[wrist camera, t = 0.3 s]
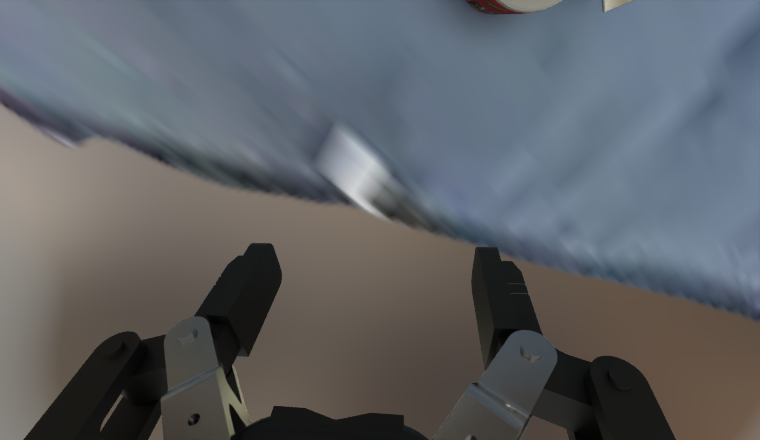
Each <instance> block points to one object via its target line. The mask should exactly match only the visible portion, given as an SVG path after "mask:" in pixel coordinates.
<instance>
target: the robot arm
mask: <svg viewBox="0 0 760 440" xmlns="http://www.w3.org/2000/svg"><path fill="white" fill-rule="evenodd" d="M281 280H282V272H281V268H280V265H279V262H278V259H277V256H276V253H275V250H274V247H273V245H272V244H270V243H252V244H250V246H249V247H248V249H247V250H246V252H245V253H244V255H243V256H238V257H236V258H235V259H234V260H233V261H232V262H230V263H229V264H228V265H227V267H226V268H225V270H224V271H223V273H222V274H221V277H219V279H218V281H217V282H216V285H214V287H213V288H212V290H211V291H210V293H209V294H208V296H207V297H206V299H205V300H204V302H203V304H202V305H201V306H200V308H199V310H198V311H197V312H196V314H195V315H194V317H190V318H187V319H184V320H182V321H180V322H179V323H177V324H176V325H175V326H173V328H171V329H170V330H169V332H168V333H167V334H166V335H162V336H157V337H154V338H149V339H145V340H141V338H140V337H139V336H138V335H137V334H136V333H135V332H129V331H128V332H122V333H119V334H116V335H114V336H112V337H110V338H108V339H107V340H105V341H104V342H102V344H100V345H99V346H98V347H97V348H96V349H95V350H94V352H93V353H92V354H91V355H90V357H89V358H88V359H87V360H86V362H85V363H84V364H83V365H82V367H81V368H80V369H79V371H78V372H77V373H76V374H75V376H74V377H73V378H72V379H71V381H70V382H69V383H68V384H67V386H66V387H65V388H64V389H63V391H62V392H61V393H60V394H59V396H58V397H57V398H56V400H55V401H54V402H53V403H52V405H51V406H50V407H49V408H48V410H47V411H46V412H45V413H44V415H43V416H42V417H41V418H40V420H39V421H38V422H37V423H36V425H35V426H34V427H33V429H32V430H31V431H30V432H29V433H28V435H27V436H26V437H25V438H24V440H148V439H149V437H150V435H151V433H152V431H153V429H154V427H155V426H156V424H157V422H158V420H159V418H160V416H161V414H162V428H163V440H429V439H427V438H426V437H425V436H424V435H422V434H421V433H420V432H418V431H416V430H414V429H412V428H410V427H408V426H405V425H404V416H403V415H393V414H378V413H368V414H363V415H358V416H354V417H348V418H343V419H338V420H335V419H331V418H329V417H326V416H324V415H321V414H318V413H316V412H313V411H311V410H308V409H306V408H297V407H283V406H274V407H273V410H272V413H271V416H269V417H266V418H263V419H260V420H258V421H256V422H254V423H252V421H251V419H250V417H249V415H248V412H247V410H246V406H245V403H244V399H243V395H242V391H241V388H240V384H239V381H238V377H237V374H236V370H235V367H234V365H233V363H234V361H235V359H236V357H237V356H247V357H248V356H249V354H250V352H251V350H252V348H253V345H254V343H255V341H256V339H257V336H258V334H259V332H260V330H261V327H262V325H263V323H264V321H265V319H266V316H267V314H268V312H269V309H270V307H271V305H272V303H273V301H274V298H275V296H276V294H277V292H278V289H279V287H280V284H281ZM471 283H472V284H471V285H472V295H473V301H474V306H475V313H476V319H477V325H478V332H479V338H480V344H481V351H482V357H483V363H484V369H485V372H484V374H483V375H482V377H481V378H480V379H479V381H478V382H477V383H472V384H471V385H470V386H469V388H468V389H467V390H466V391H465V393H464V394H463V396H462V397H461V399H460V400H459V402H458V403H457V404H456V406H455V407H454V409H453V410H452V412H451V413H450V414H449V416H448V417H447V419H446V420H445V421H444V423H443V424H442V426H441V427H440V429H439V430H438V431H437V433H436V435H435V436H434V437H433V438H432V440H520V439H521V437H522V435H523V433H524V431H525V429H526V427H527V425H528V424H529V422H530V419H531V418H532V416H533V415H534V416H536V417H539V418H541V419H544V420H546V421H549V422H551V423H554V424H556V425H558V426H561V427H564V428H566V429H567V433H568V437H569V440H676V439H675V437H674V435H673V433H672V431H671V429H670V427H669V425H668V423H667V420H666V419H665V416H664V414H663V412H662V410H661V408H660V406H659V404H658V402H657V400H656V398H655V396H654V394H653V392H652V390H651V388H650V385H649V384H648V382H647V380H646V378H645V377H644V376H643V374H642V373H641V372H640V371H639V370H638V369H637V368H635V367H634V366H633V365H631V364H630V363H628V362H626V361H625V360H622V359H620V358H617V357H613V356H601V357H598V358H596V359H594V360H593V362H588V361H585V360H582V359H579V358H576V357H573V356H570V355H567V354H565V353H563V352H561V351H559V350H557V349H556V348H554V346H553V345H552V343H551V342H550V341H549V340H548V339H547V338H545V337H544V336H543V334H542V332H541V330H540V326H539V323H538V321H537V318H536V314H535V312H534V308H533V306H532V303H531V300H530V296H529V295H528V291H527V288H526V286H525V281H524V278H523V276H522V273H521V271H520V270H519V269H518V268H517V266H516V265H515V264H514V263H513V262H512V261H501V259H500V255H499V251H498V249H497V247H476V249H475V255H474V263H473V270H472V280H471ZM120 394H121V395H122V396H123V398H122V399H121V401H120V402H119V404H118V405H117V407H116V409H115V410H114V412H113V413H112V415H111V416H110V418H109V419H108V421H107V422H106V424H105V426H104V427H103V429H102V430H101V432H100V428H101V424H102V422H103V420H104V418H105V417H106V415H107V414H108V412H109V411H110V409H111V408H112V406H113V404H114V403H115V402H116V400H117V398H118V397H119V395H120Z"/></svg>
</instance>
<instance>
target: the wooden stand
mask: <svg viewBox="0 0 760 440" xmlns="http://www.w3.org/2000/svg"><path fill="white" fill-rule="evenodd" d="M630 1H632V0H603V12H606V11H608V10H611V9H613V8H616V7H618V6H620V5H623V4H625V3H628V2H630Z"/></svg>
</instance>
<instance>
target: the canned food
mask: <svg viewBox="0 0 760 440" xmlns="http://www.w3.org/2000/svg"><path fill="white" fill-rule="evenodd" d="M467 1H468V3H469V4H470V5H471V6H472V7H474V8H475V9H477V10H478V11H481V12H483V13H487V14H523V13H531V12H538V11H541V10H544V9H546V8H549V7H551V6H554V5H555V4H557V3H559V2H560V1H562V0H467Z"/></svg>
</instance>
